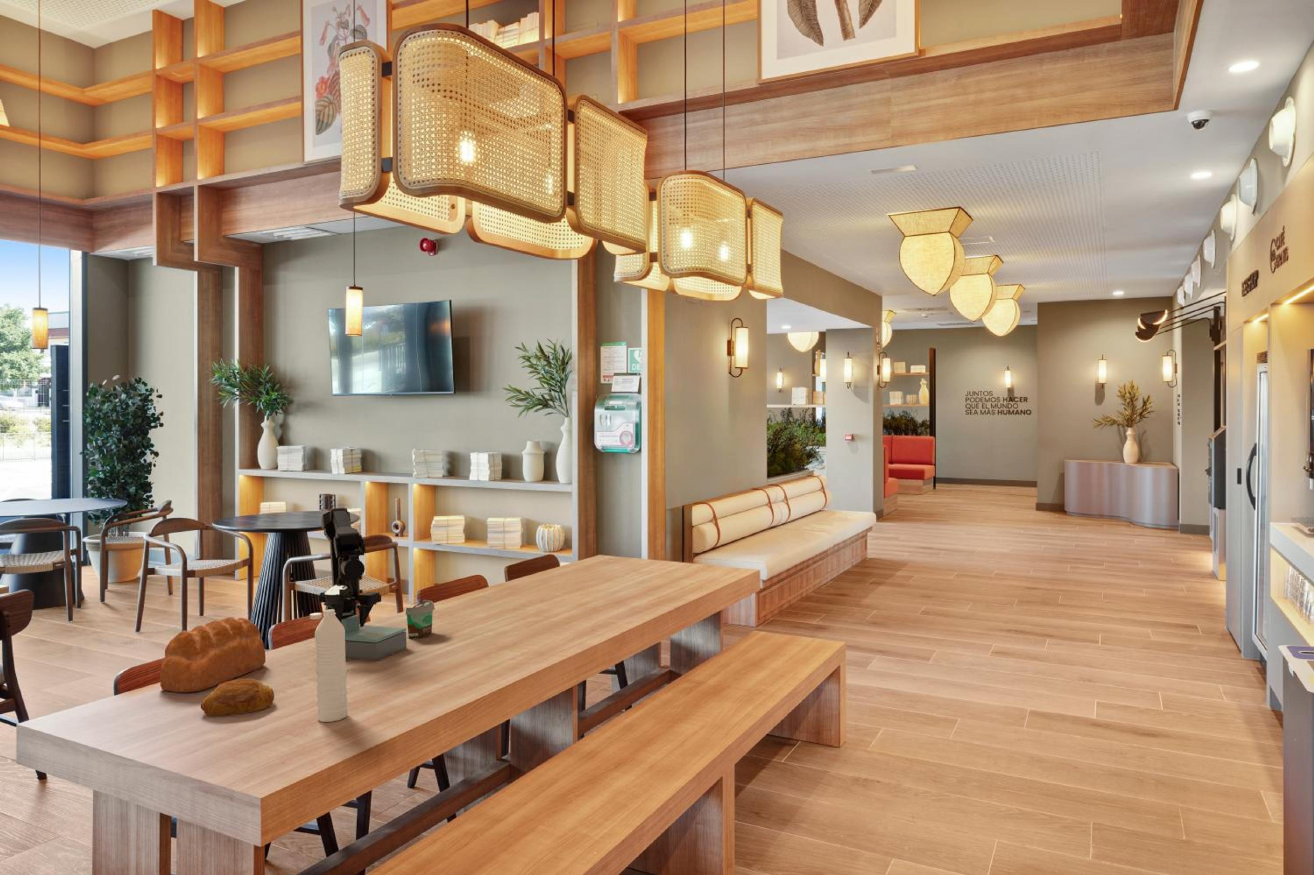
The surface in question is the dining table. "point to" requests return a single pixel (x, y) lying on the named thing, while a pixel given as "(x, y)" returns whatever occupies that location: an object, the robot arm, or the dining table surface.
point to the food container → (420, 620)
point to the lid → (367, 631)
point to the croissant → (237, 698)
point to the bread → (211, 655)
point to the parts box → (375, 648)
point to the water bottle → (330, 667)
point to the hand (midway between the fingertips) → (350, 626)
